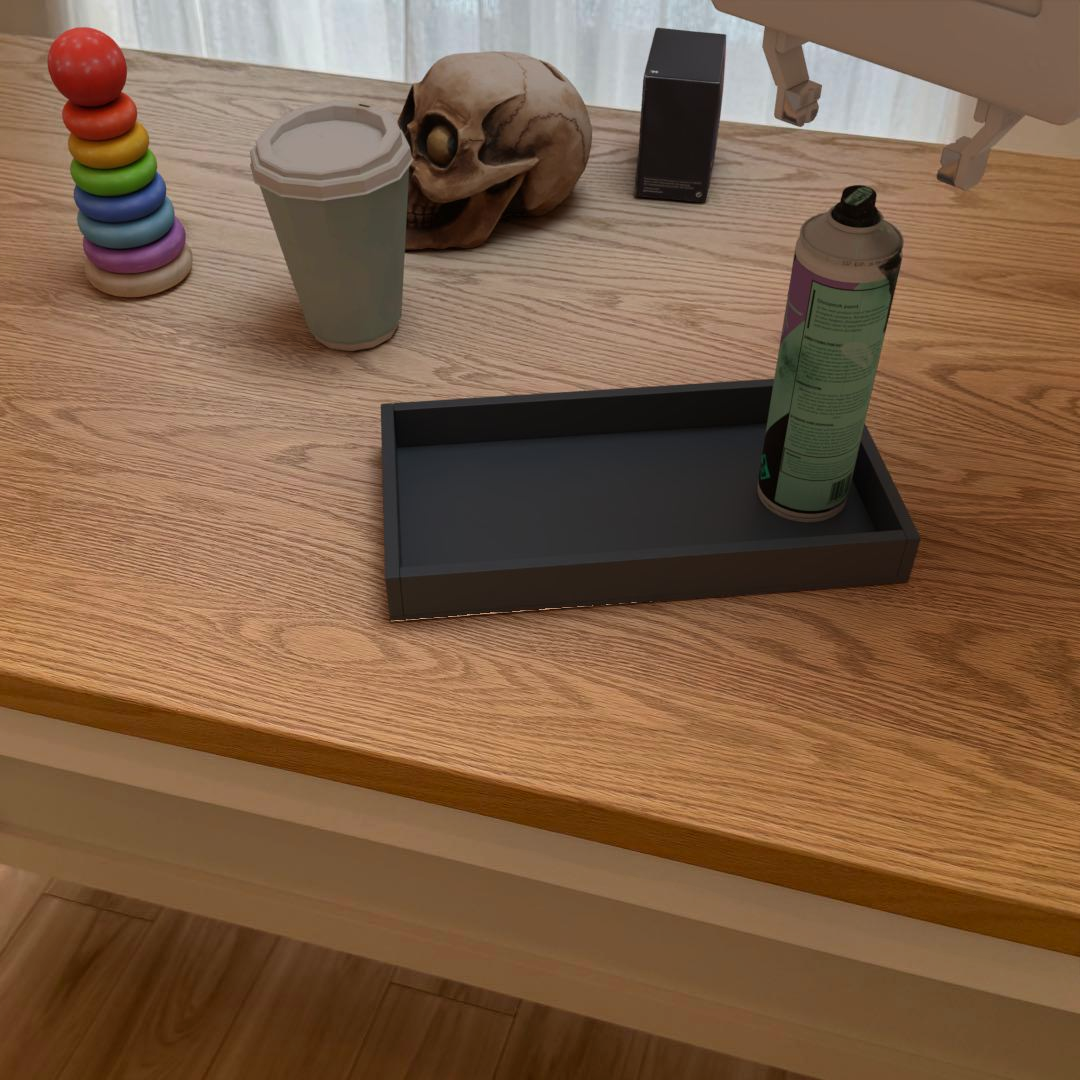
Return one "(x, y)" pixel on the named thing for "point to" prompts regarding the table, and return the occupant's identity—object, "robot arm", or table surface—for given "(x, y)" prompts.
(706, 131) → the small box
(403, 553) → the tray
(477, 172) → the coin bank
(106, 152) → the stacking toy
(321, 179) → the disposable coffee cup
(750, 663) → the table surface
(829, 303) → the spray can
